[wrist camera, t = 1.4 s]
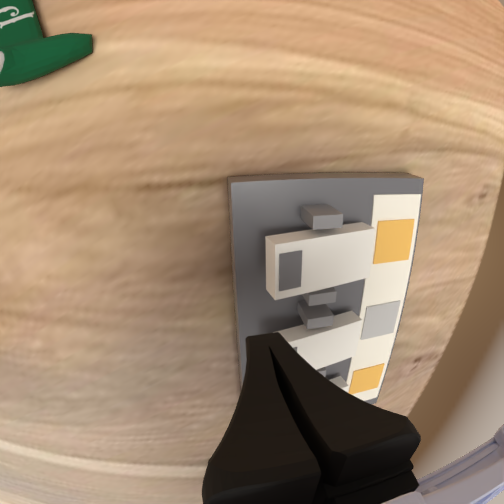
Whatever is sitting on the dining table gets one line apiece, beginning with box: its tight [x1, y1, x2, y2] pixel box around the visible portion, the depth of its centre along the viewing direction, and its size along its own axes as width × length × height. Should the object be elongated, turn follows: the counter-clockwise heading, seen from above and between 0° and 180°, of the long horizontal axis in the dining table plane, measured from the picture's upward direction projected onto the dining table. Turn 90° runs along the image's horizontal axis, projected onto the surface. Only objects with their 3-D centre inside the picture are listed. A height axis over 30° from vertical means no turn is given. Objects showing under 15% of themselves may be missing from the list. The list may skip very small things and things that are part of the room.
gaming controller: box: [0, 0, 92, 87], centre depth 10 cm, size 9×4×6 cm
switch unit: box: [227, 172, 424, 404], centre depth 21 cm, size 20×12×4 cm, turn 2°
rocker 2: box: [273, 311, 362, 370], centre depth 19 cm, size 3×6×1 cm, turn 92°
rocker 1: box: [265, 222, 375, 300], centre depth 17 cm, size 3×6×1 cm, turn 92°
